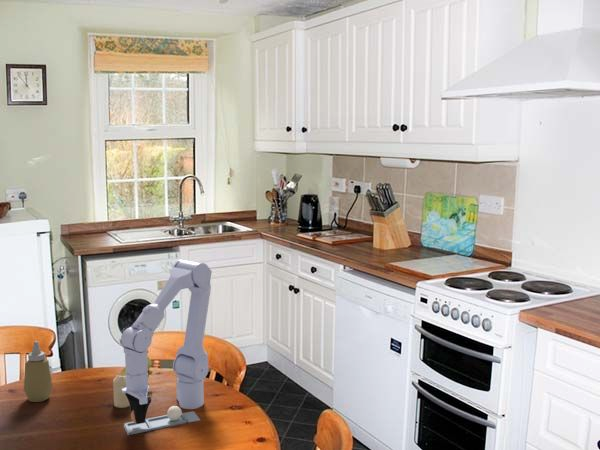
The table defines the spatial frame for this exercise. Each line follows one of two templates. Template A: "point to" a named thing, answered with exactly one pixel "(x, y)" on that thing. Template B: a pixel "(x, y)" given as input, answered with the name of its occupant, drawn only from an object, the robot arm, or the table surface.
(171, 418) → the cream ball
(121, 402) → the candle
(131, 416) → the rust ball
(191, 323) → the robot arm
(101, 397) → the table surface
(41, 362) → the squeeze bottle
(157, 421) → the board
